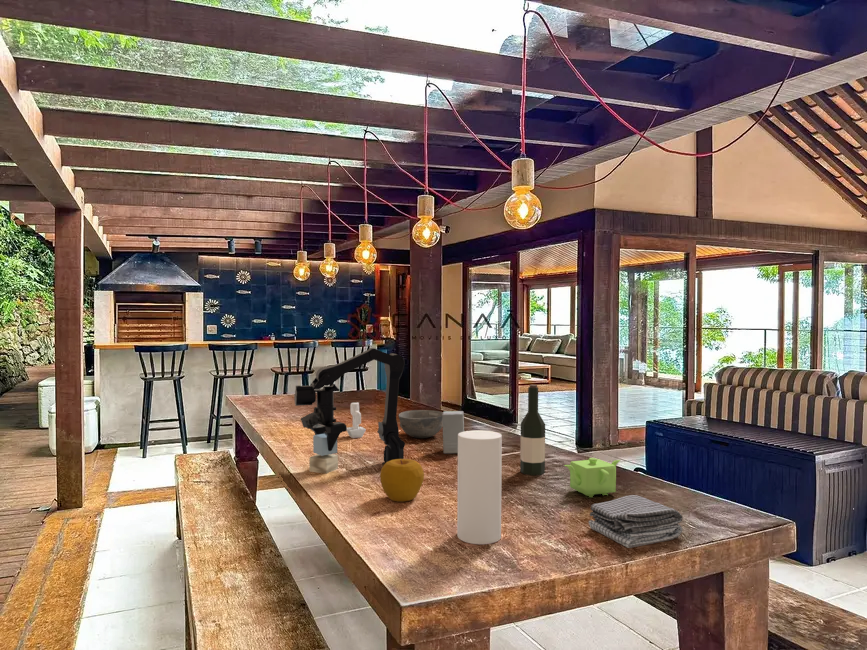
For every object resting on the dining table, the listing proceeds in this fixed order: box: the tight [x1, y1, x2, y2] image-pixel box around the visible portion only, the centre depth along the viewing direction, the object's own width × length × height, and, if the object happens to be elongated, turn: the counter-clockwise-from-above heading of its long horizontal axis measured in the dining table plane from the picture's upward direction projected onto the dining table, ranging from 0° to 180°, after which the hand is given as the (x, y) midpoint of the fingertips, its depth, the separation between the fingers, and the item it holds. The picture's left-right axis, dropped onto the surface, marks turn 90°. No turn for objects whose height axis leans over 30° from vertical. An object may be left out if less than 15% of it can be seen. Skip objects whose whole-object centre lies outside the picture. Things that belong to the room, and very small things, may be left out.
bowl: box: [397, 409, 443, 439], centre depth 262 cm, size 21×21×10 cm
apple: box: [379, 458, 425, 503], centre depth 174 cm, size 13×13×11 cm
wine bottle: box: [519, 384, 546, 476], centre depth 204 cm, size 8×8×30 cm
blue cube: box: [312, 434, 338, 456], centre depth 205 cm, size 6×6×6 cm
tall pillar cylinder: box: [456, 429, 503, 545], centre depth 145 cm, size 11×11×25 cm
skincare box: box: [442, 410, 465, 454], centre depth 232 cm, size 8×7×16 cm
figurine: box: [346, 402, 367, 439], centre depth 260 cm, size 7×9×15 cm
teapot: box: [564, 457, 621, 498], centre depth 181 cm, size 15×13×11 cm
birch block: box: [308, 454, 339, 475], centre depth 205 cm, size 7×7×5 cm
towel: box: [588, 494, 684, 549], centre depth 148 cm, size 15×18×8 cm
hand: (325, 449), depth 205 cm, fingers closed on blue cube, 6 cm apart
